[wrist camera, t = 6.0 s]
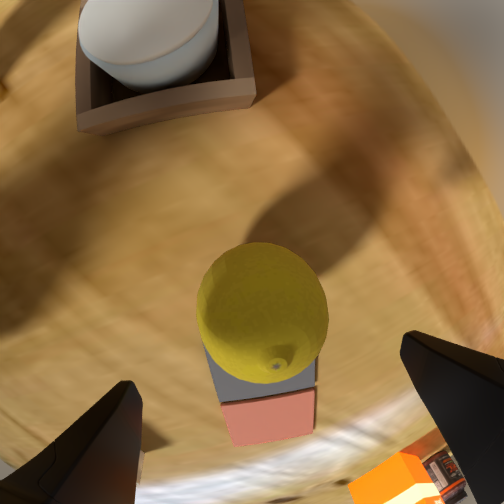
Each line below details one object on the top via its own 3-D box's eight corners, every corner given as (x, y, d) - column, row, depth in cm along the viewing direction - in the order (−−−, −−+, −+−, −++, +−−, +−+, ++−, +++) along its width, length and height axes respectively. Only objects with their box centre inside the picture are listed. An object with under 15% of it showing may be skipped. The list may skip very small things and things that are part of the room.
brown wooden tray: (102, 135, 13) (77, 131, 10) (100, 19, 10) (81, -2, 7) (249, 107, 13) (256, 94, 10) (233, -9, 11) (236, -37, 8)
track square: (219, 399, 19) (219, 402, 18) (201, 334, 17) (201, 337, 17) (313, 383, 19) (314, 386, 19) (313, 316, 17) (314, 319, 17)
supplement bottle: (451, 447, 30) (478, 488, 19) (429, 467, 31) (453, 508, 21) (434, 451, 29) (463, 498, 18) (410, 472, 30) (434, 518, 19)
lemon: (272, 207, 15) (323, 252, 7) (313, 288, 17) (373, 375, 9) (182, 257, 15) (151, 343, 8) (233, 331, 17) (243, 436, 9)
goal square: (233, 444, 21) (233, 446, 20) (220, 403, 19) (220, 406, 19) (311, 430, 21) (312, 433, 21) (313, 387, 19) (314, 390, 19)
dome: (112, 106, 11) (71, 86, 7) (111, 19, 10) (80, -19, 5) (223, 83, 12) (225, 48, 7) (213, -3, 10) (213, -52, 6)
